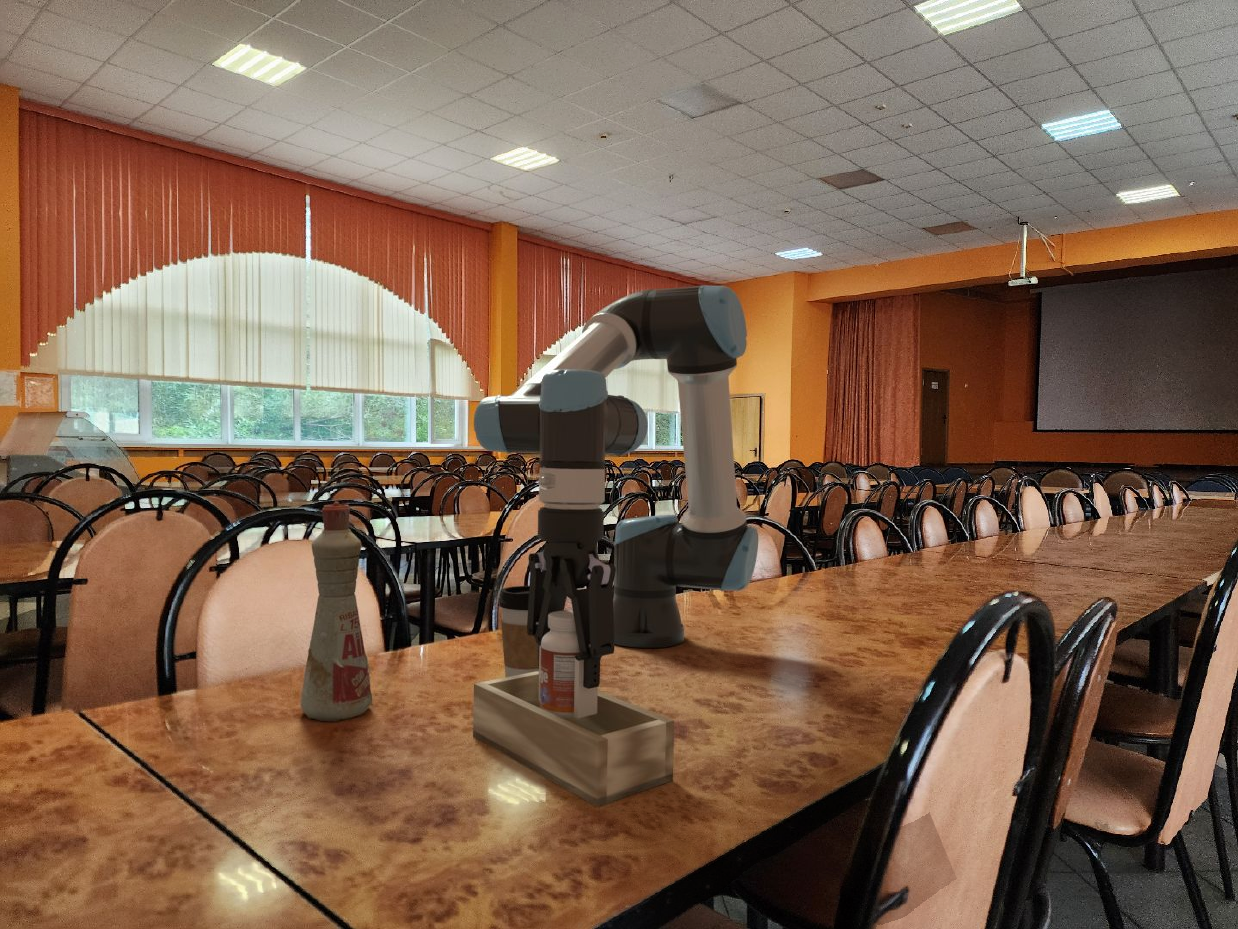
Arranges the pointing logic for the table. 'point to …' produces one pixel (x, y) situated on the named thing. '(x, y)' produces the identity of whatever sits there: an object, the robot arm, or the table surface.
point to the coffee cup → (517, 632)
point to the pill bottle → (559, 664)
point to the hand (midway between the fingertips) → (567, 706)
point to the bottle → (336, 627)
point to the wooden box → (576, 740)
